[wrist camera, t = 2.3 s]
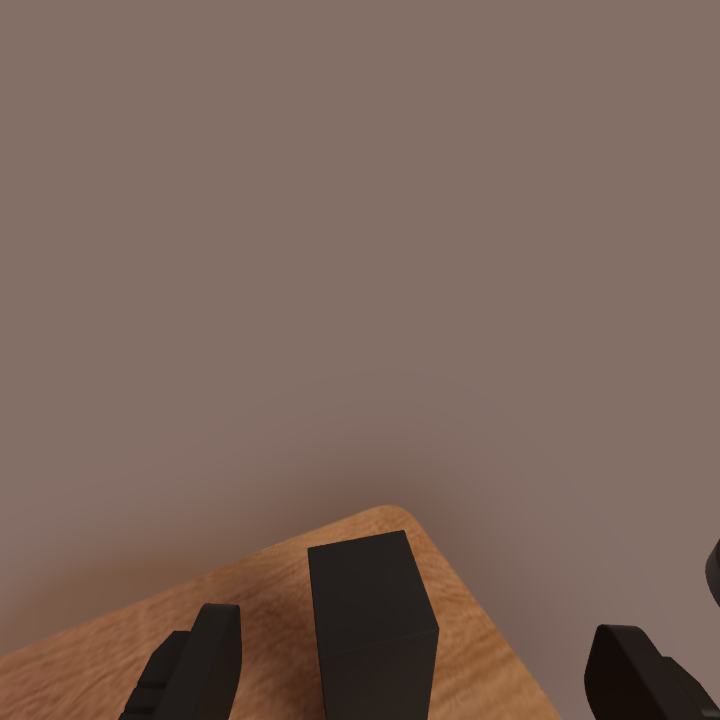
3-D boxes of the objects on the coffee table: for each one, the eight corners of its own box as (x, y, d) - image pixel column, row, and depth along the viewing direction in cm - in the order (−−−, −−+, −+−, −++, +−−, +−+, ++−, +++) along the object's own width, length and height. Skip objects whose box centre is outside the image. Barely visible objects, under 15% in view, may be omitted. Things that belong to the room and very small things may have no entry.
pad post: (397, 662, 25) (404, 529, 19) (422, 760, 21) (440, 629, 15) (323, 680, 24) (307, 547, 19) (334, 785, 20) (318, 657, 15)
